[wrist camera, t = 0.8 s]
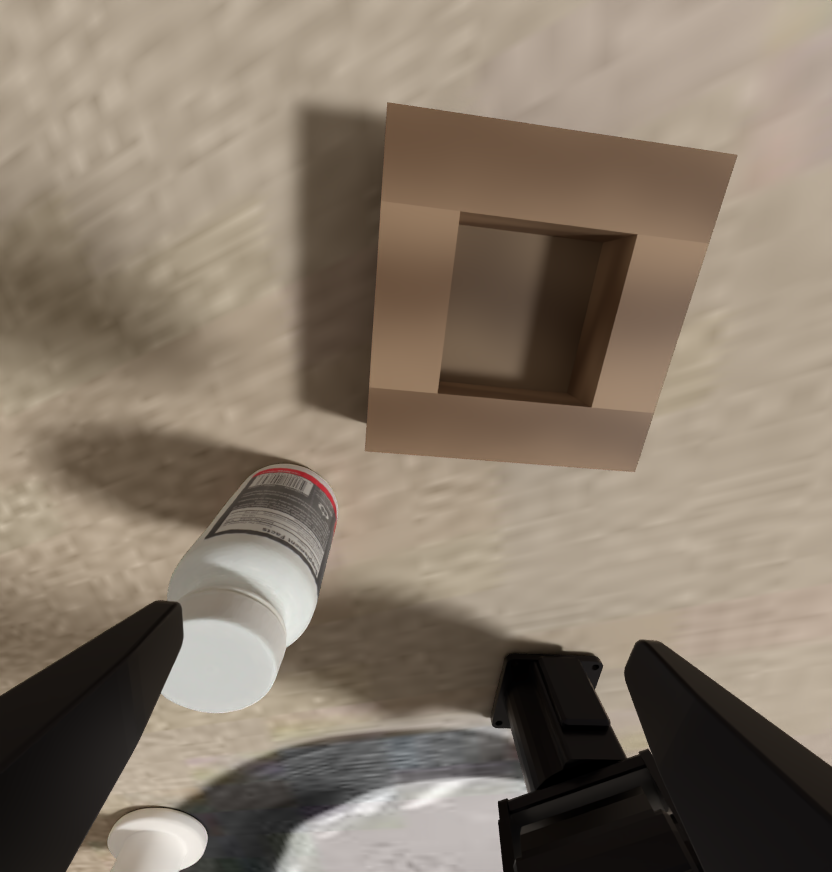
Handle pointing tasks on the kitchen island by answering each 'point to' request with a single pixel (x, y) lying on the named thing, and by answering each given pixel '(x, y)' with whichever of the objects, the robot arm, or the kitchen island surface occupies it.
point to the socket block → (530, 287)
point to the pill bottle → (250, 588)
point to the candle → (156, 841)
